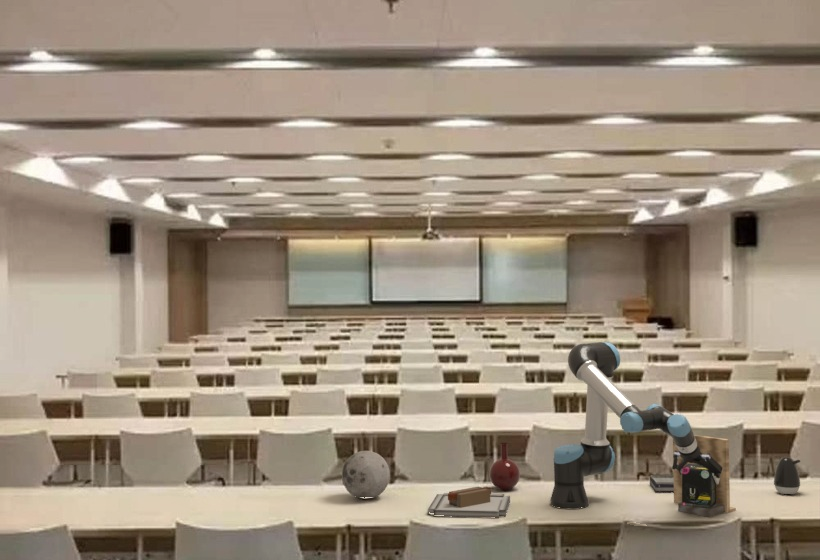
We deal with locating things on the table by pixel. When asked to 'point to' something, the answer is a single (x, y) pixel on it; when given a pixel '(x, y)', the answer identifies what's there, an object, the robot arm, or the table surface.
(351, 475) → the moon model
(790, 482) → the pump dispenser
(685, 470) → the tampon box
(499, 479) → the round-bottom flask
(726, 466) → the board
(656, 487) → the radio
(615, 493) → the table surface
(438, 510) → the grey tray with block
